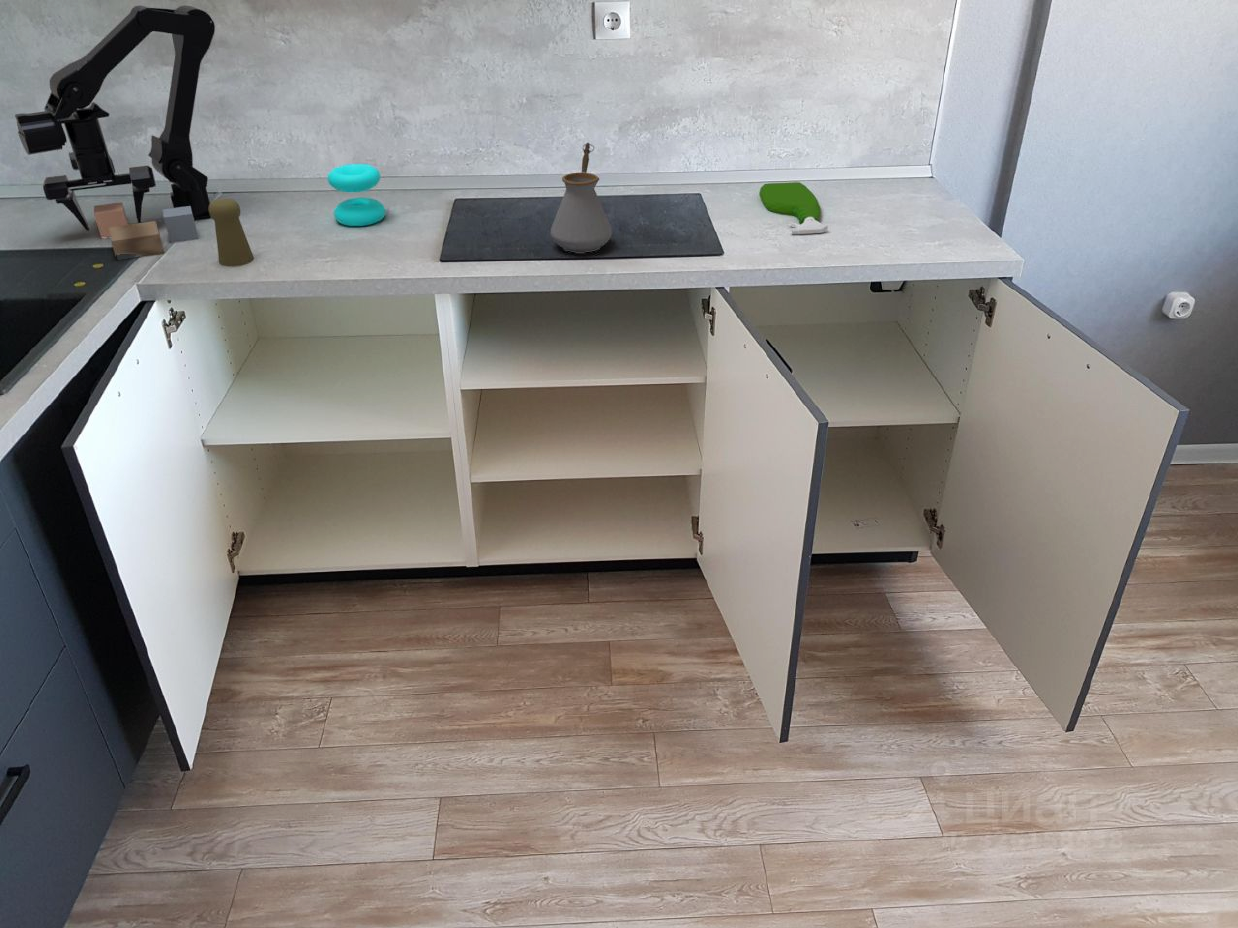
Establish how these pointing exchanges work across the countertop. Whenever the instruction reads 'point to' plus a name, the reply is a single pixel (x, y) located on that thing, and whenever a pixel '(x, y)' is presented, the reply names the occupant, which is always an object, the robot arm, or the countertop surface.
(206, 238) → the countertop surface
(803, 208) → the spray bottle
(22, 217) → the countertop surface
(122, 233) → the walnut base block
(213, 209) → the olive pawn
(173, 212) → the slate grey cube
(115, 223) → the terracotta cube
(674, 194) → the countertop surface
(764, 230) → the countertop surface
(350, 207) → the donuts
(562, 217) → the coffee pot
